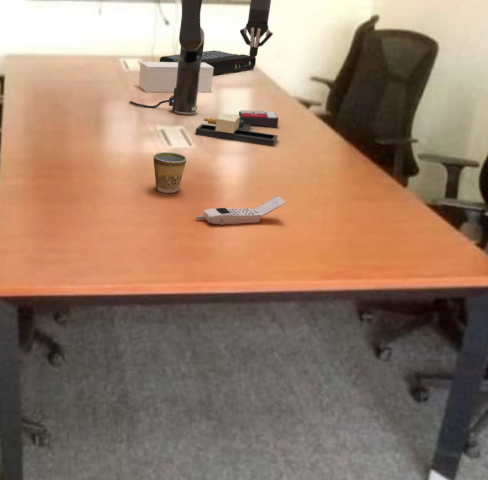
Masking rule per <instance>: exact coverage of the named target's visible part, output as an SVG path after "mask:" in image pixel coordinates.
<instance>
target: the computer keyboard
mask: <svg viewBox="0 0 488 480" xmlns="http://www.w3.org/2000/svg"><path fill="white" fill-rule="evenodd" d="M179 56H180V54H172V55H164V56H161V57H160V58H159V62H178V60H179ZM256 61H257V56H255V58H251V56H250V55H249V54H244V53H243V54H239V53H230V52H226V51H225V52H224V51H221V50H207V51H203V56H202V62H201V63H207V64H209V65H210V66H212V67H214V69H213V76H214V75H221V74H229V73H234V72H242V71H248V70H254V68H255V67H256V65H257V64H256Z"/></svg>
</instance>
